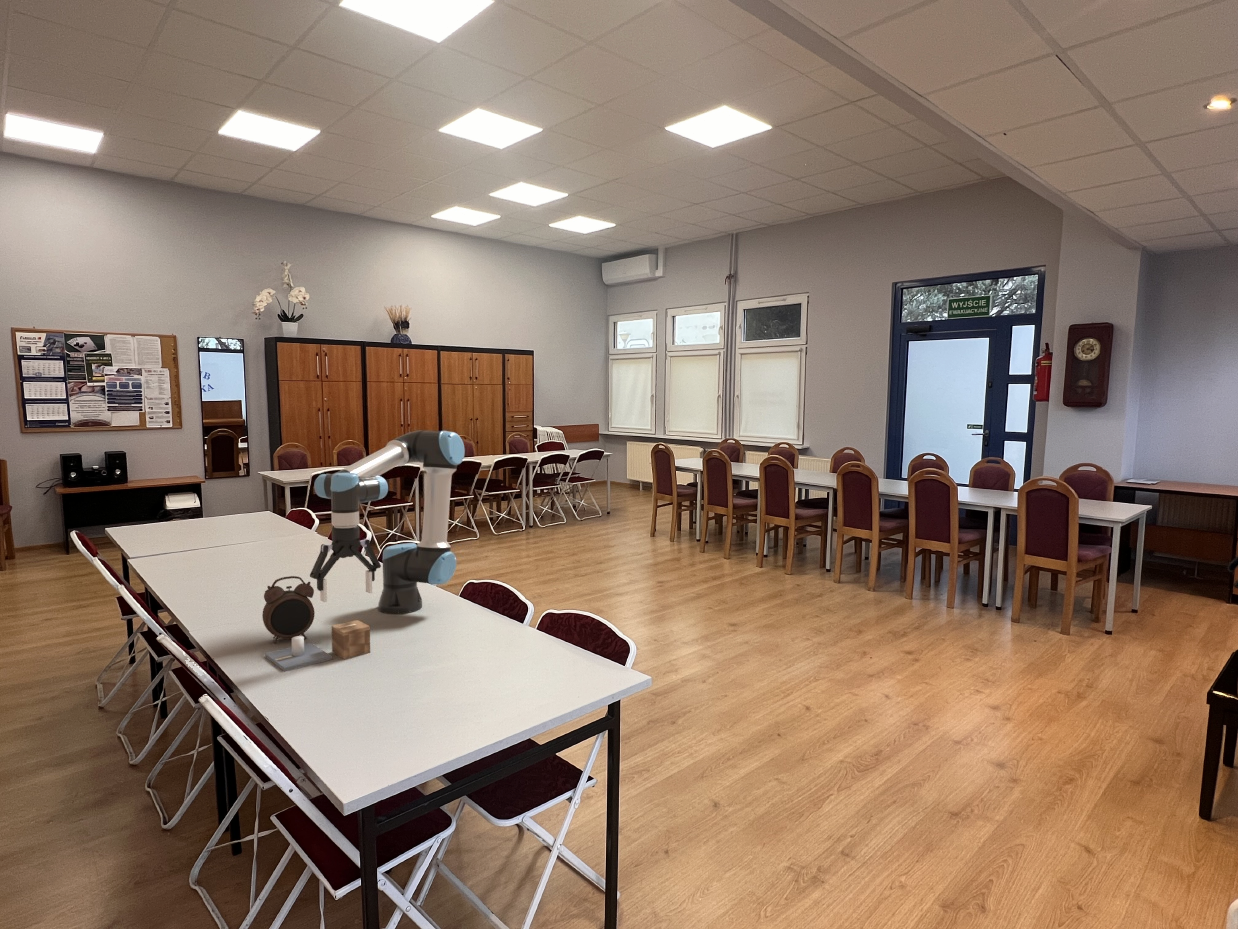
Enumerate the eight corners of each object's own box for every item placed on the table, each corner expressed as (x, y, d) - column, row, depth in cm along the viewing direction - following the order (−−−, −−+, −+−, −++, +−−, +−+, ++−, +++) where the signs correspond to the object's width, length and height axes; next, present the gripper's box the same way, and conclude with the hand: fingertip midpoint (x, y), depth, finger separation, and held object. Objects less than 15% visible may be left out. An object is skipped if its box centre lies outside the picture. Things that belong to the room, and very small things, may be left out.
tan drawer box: (358, 645, 208) (357, 619, 208) (370, 652, 203) (369, 625, 202) (332, 652, 203) (331, 625, 202) (343, 659, 197) (343, 631, 196)
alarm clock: (266, 648, 205) (264, 583, 203) (262, 641, 211) (260, 577, 209) (317, 638, 214) (316, 576, 212) (312, 632, 219) (311, 571, 218)
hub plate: (310, 645, 207) (310, 626, 207) (331, 659, 197) (331, 639, 197) (265, 656, 198) (264, 636, 198) (284, 671, 188) (284, 650, 187)
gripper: (380, 519, 211) (381, 586, 213) (296, 529, 193) (298, 602, 195) (391, 522, 206) (392, 591, 207) (306, 532, 188) (308, 607, 190)
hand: (346, 596), depth 201 cm, fingers open, 13 cm apart
